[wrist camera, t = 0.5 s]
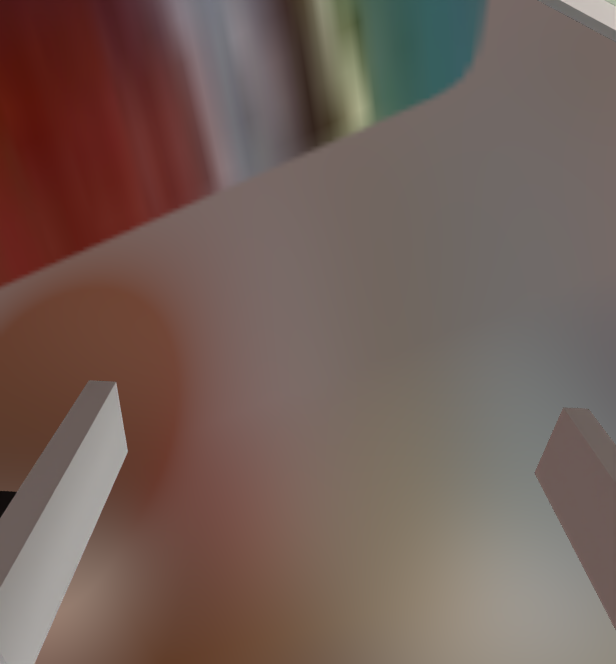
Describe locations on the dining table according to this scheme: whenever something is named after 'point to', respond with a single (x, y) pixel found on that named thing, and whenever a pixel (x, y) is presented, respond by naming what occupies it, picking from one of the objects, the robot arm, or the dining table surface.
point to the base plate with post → (589, 14)
